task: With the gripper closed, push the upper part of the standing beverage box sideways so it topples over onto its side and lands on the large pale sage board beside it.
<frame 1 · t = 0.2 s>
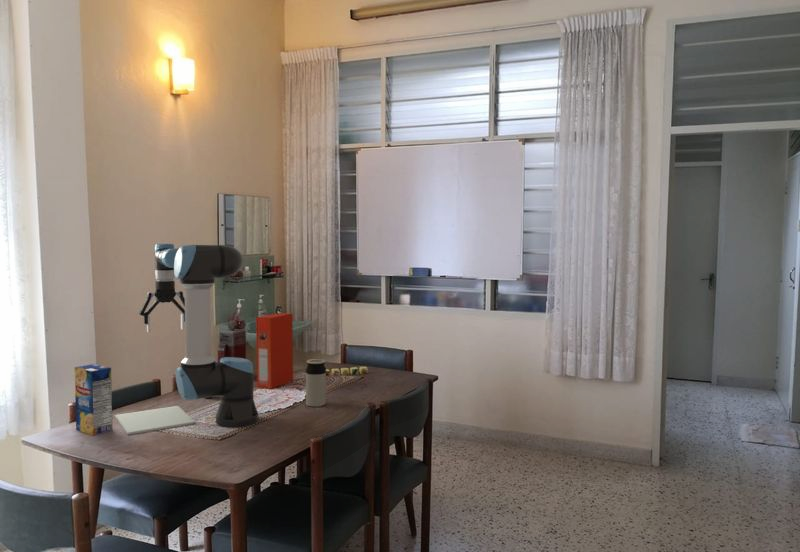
hand: (165, 330, 247), 28 cm above the table, fingers open, 13 cm apart
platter: (347, 376, 291), on the table
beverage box: (94, 430, 205), on the table
travel mug: (315, 404, 239), on the table
file binder: (275, 384, 271), on the table
green animal figurine: (202, 394, 254), on the table
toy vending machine: (231, 379, 280), on the table
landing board: (154, 420, 216), on the table
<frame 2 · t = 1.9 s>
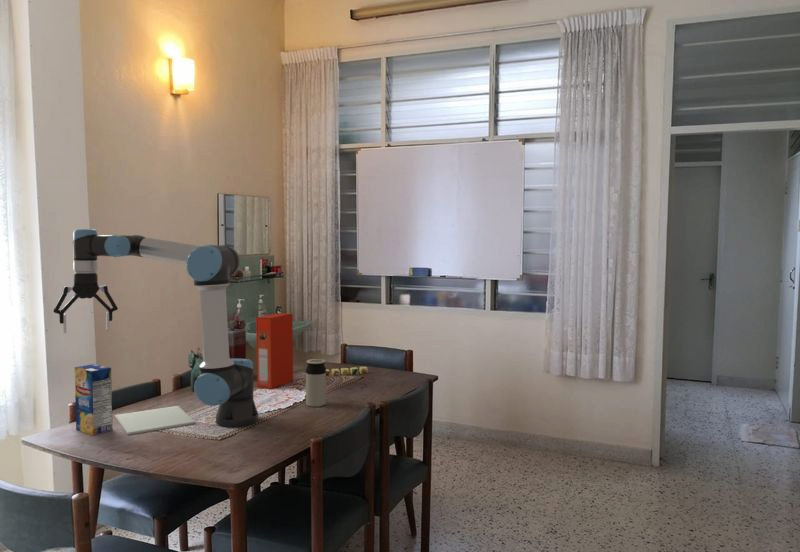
hand: (86, 331, 211), 33 cm above the table, fingers open, 13 cm apart
nothing on the table moved.
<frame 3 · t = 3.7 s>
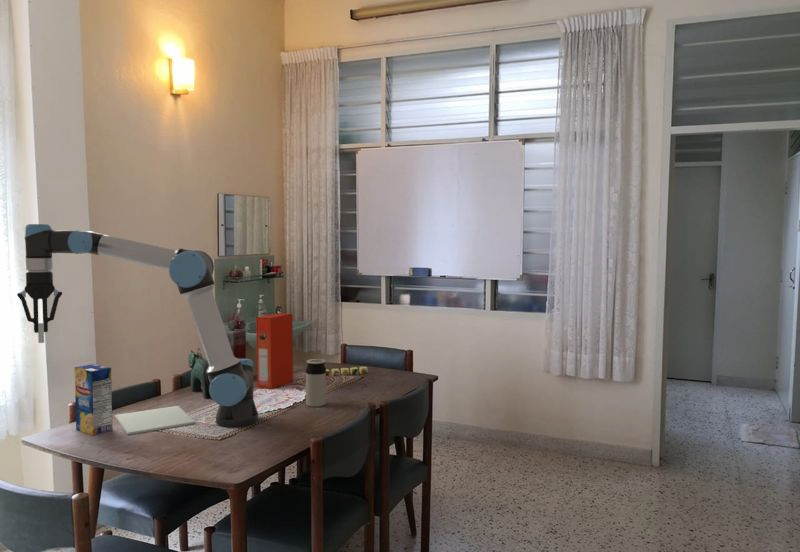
hand: (41, 342, 195), 32 cm above the table, fingers closed
nothing on the table moved.
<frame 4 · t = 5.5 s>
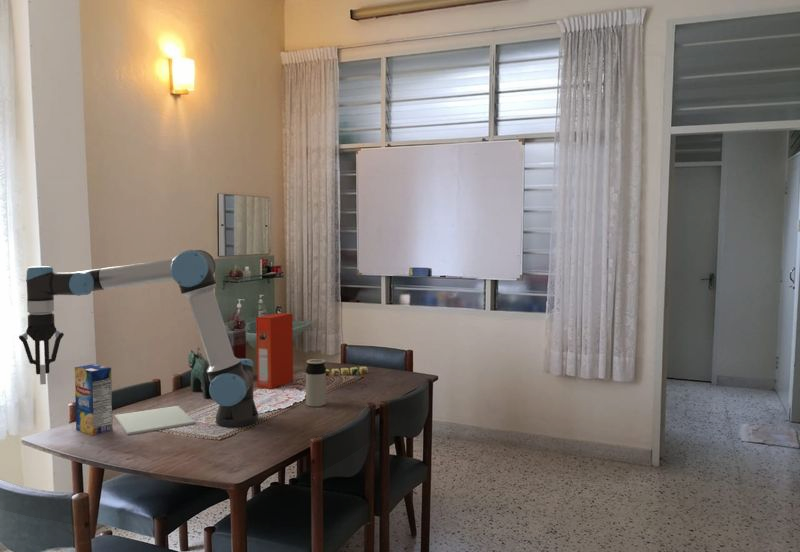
hand: (43, 383, 195), 18 cm above the table, fingers closed
nothing on the table moved.
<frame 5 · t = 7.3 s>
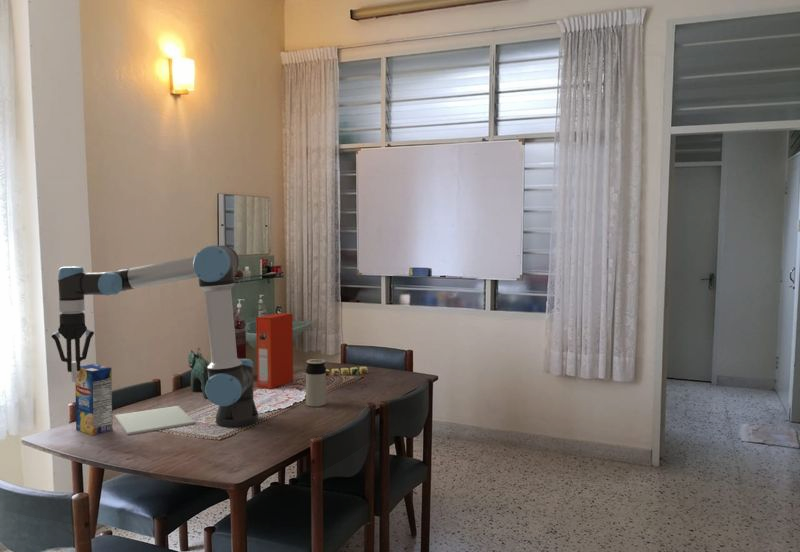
hand: (74, 380, 201), 18 cm above the table, fingers closed
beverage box: (94, 430, 205), on the table, touching gripper
everything else where it was.
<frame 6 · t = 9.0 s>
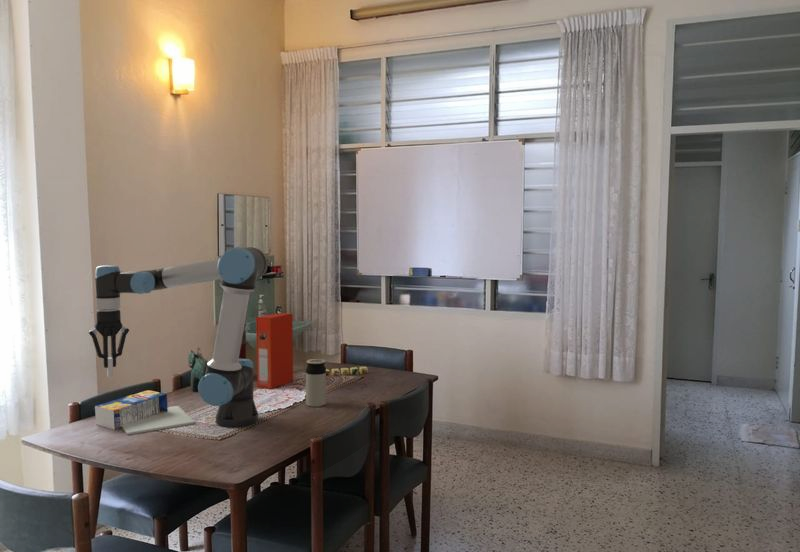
hand: (110, 376, 207), 18 cm above the table, fingers closed
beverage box: (104, 417, 208), point 3 cm above the table, touching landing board
everything else where it was.
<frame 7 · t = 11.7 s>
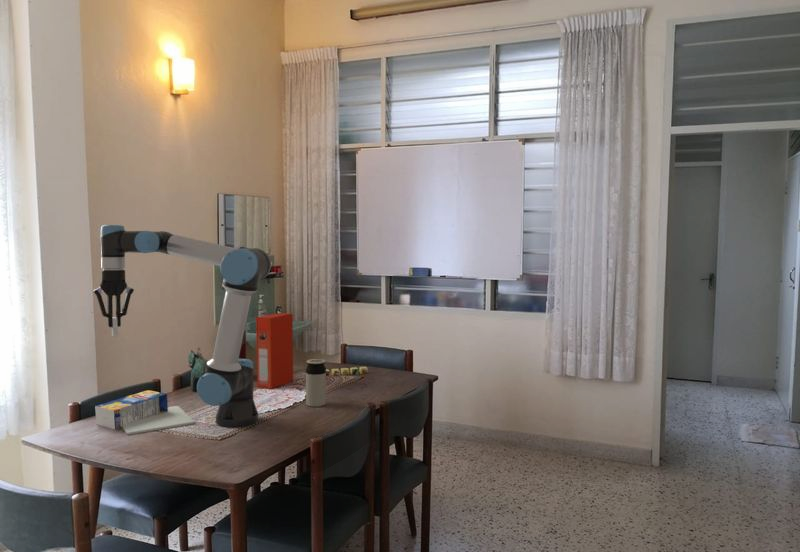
hand: (114, 336, 207), 32 cm above the table, fingers closed
nothing on the table moved.
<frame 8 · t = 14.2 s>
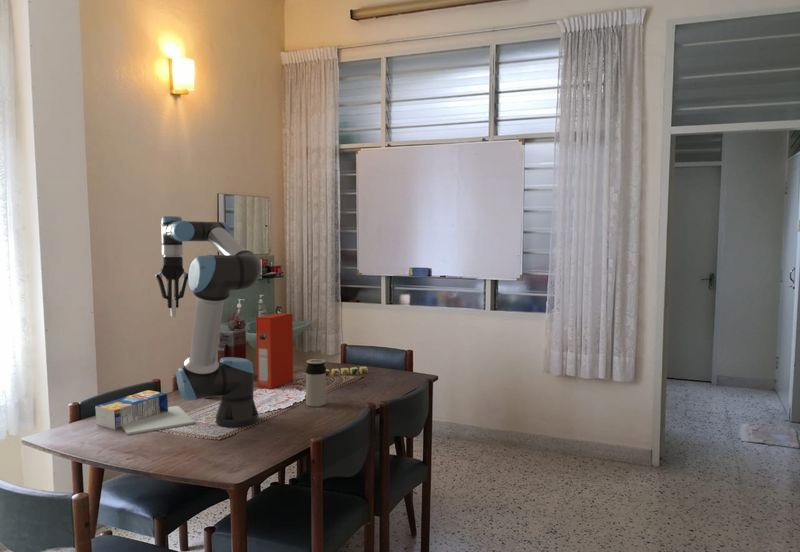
hand: (173, 316, 230), 36 cm above the table, fingers closed
nothing on the table moved.
at the end: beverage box tilted 88°; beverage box touching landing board, table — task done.
